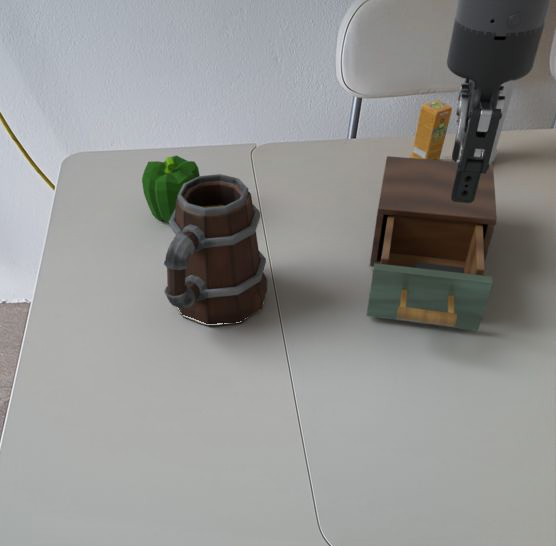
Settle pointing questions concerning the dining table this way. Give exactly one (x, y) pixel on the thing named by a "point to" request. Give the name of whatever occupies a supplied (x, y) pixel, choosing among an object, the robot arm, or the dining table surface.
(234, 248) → the mug
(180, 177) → the bell pepper
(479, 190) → the cabinet
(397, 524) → the dining table surface
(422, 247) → the drawer
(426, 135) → the supplement box
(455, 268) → the usb flash drive
